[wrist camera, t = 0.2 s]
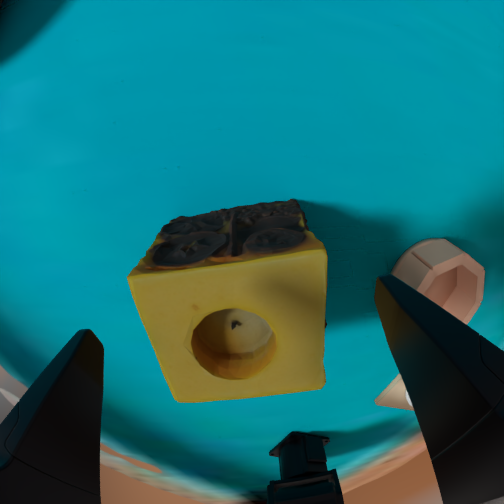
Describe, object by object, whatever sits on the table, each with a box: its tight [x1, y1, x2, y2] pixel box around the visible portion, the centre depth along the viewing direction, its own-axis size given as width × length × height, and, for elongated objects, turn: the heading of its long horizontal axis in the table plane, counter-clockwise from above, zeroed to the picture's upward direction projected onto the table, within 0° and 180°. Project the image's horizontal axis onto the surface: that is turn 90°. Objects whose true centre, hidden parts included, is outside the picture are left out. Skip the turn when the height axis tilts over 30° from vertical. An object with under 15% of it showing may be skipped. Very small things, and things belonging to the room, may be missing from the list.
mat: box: [374, 373, 414, 410], centre depth 31 cm, size 12×12×1 cm
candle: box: [127, 199, 327, 403], centre depth 20 cm, size 10×10×10 cm
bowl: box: [390, 238, 485, 325], centre depth 24 cm, size 9×9×4 cm
